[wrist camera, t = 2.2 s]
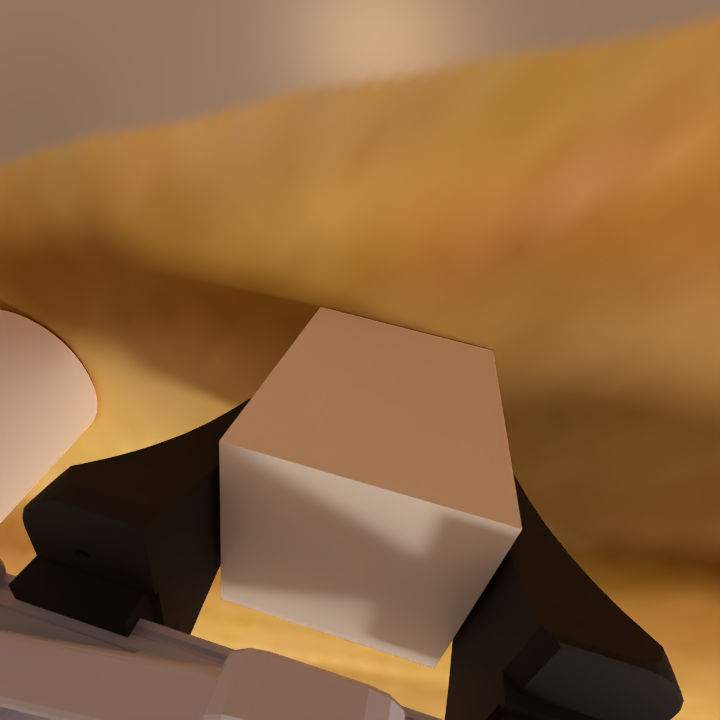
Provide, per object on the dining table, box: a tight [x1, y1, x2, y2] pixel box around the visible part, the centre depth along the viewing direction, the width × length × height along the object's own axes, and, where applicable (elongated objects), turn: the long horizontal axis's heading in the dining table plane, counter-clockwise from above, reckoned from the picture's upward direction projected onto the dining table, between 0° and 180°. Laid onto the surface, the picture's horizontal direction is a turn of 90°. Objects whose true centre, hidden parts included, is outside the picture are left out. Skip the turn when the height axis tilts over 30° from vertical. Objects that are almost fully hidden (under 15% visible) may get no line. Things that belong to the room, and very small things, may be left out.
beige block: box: [219, 307, 522, 668], centre depth 12 cm, size 6×6×7 cm
